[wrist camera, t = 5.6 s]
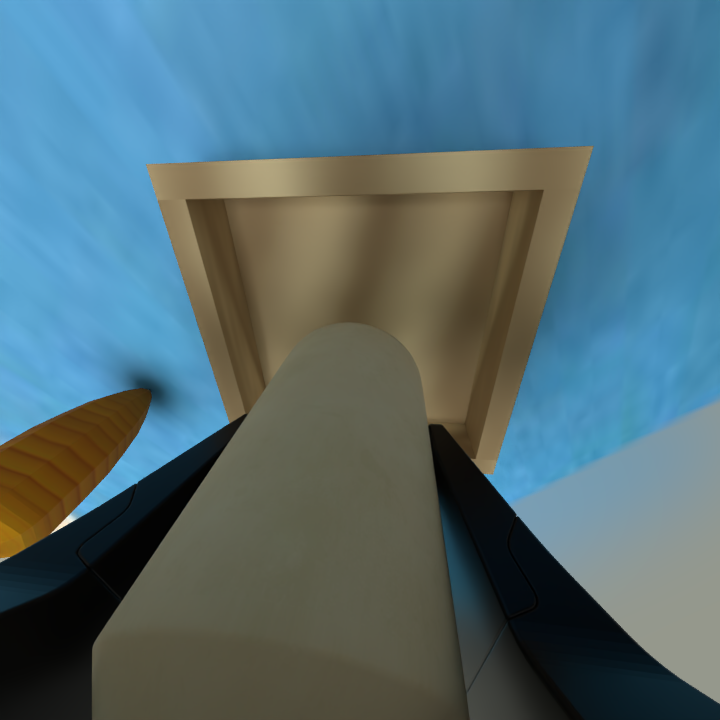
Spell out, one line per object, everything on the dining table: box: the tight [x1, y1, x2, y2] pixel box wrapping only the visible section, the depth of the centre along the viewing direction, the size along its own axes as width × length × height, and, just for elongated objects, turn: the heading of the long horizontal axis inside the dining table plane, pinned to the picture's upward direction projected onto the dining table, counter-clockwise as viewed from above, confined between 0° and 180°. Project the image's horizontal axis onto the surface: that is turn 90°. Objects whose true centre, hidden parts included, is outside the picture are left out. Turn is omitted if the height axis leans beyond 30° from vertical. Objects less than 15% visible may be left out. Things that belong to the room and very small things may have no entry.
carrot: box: [0, 388, 152, 558], centre depth 16 cm, size 5×5×15 cm
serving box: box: [146, 146, 594, 474], centre depth 16 cm, size 16×16×4 cm
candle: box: [92, 322, 470, 720], centre depth 7 cm, size 6×6×10 cm
